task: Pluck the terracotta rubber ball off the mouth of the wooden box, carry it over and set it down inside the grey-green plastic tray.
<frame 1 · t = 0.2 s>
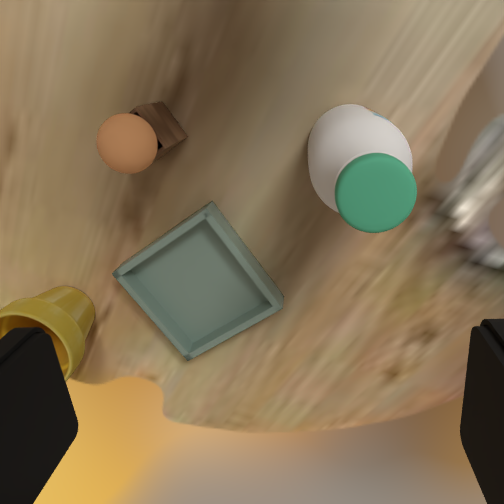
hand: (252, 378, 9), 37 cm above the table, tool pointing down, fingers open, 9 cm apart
tray: (202, 279, 50), on the table
plant pot: (72, 307, 54), on the table
ball: (127, 143, 36), point 9 cm above the table, touching wooden box
milk bottle: (346, 143, 43), on the table
wooden box: (160, 131, 44), on the table, touching ball
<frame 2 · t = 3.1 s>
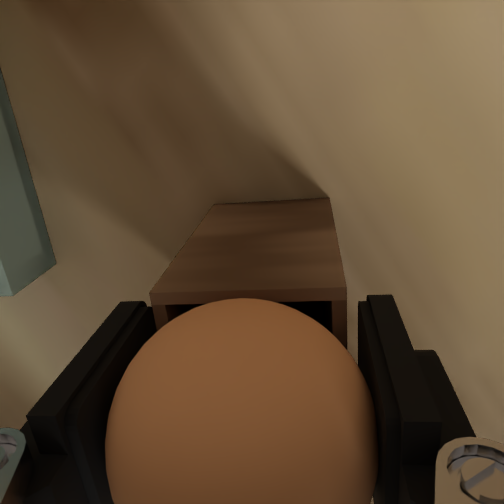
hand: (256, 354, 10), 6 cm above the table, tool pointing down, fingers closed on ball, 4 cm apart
ball: (243, 429, 8), point 9 cm above the table, touching gripper, wooden box
wooden box: (274, 254, 16), on the table, touching ball
when the fingers open (3 cm above the table, at t = 8.7 s): ball drops 2 cm, resting on tray.
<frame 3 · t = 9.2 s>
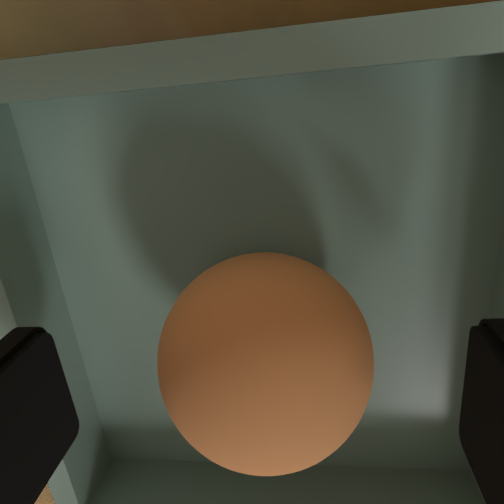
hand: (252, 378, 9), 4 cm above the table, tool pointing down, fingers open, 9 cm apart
tray: (266, 297, 13), on the table
ball: (264, 357, 10), point 3 cm above the table, tilted 6°, touching tray
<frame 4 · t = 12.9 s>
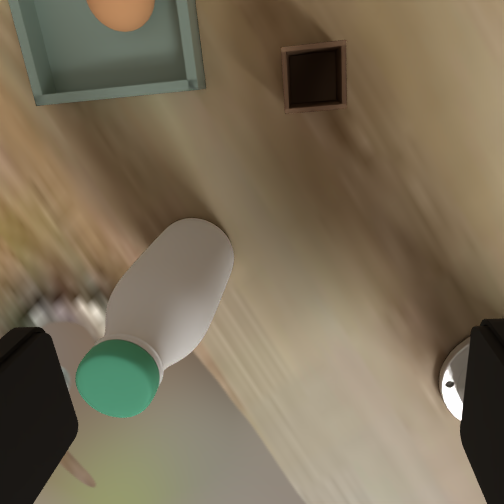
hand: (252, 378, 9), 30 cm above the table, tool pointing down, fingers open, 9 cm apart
tray: (111, 5, 35), on the table
milk bottle: (197, 252, 42), on the table
wooden box: (312, 78, 35), on the table
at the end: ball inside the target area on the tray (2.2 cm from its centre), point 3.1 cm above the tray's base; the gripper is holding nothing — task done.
